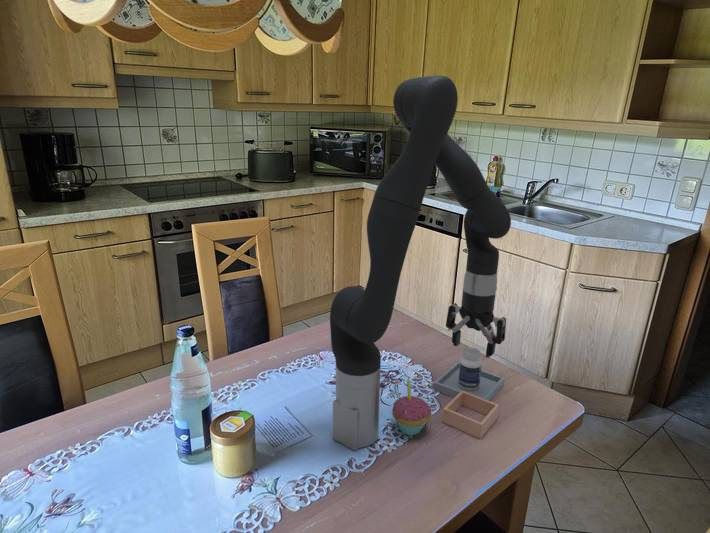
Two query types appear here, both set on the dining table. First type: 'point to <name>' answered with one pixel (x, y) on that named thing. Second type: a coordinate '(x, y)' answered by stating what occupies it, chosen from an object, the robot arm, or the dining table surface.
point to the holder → (465, 422)
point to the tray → (451, 388)
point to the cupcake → (411, 413)
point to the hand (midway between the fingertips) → (472, 350)
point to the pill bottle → (470, 369)
